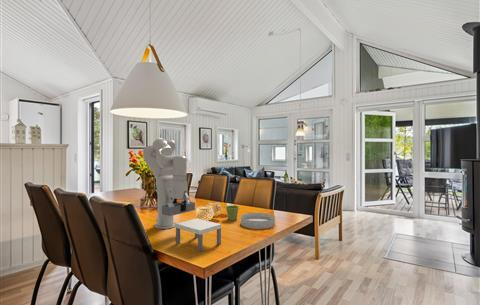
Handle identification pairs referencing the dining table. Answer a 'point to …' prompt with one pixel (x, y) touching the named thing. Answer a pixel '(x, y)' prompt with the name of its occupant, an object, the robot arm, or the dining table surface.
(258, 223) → the dish
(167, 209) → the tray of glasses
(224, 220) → the dining table surface
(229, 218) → the plant pot
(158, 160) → the robot arm
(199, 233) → the low table
